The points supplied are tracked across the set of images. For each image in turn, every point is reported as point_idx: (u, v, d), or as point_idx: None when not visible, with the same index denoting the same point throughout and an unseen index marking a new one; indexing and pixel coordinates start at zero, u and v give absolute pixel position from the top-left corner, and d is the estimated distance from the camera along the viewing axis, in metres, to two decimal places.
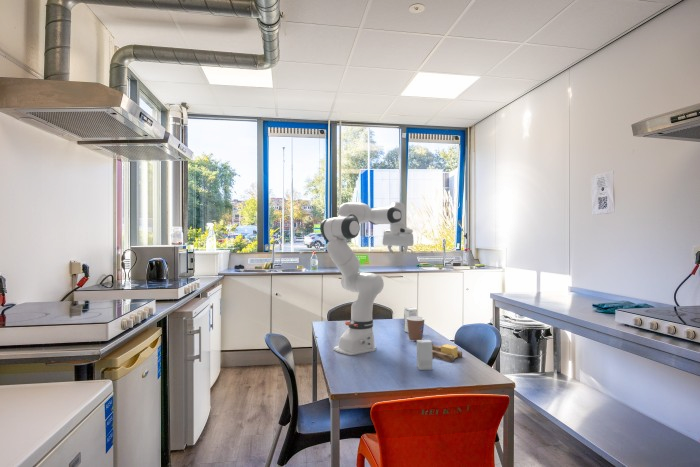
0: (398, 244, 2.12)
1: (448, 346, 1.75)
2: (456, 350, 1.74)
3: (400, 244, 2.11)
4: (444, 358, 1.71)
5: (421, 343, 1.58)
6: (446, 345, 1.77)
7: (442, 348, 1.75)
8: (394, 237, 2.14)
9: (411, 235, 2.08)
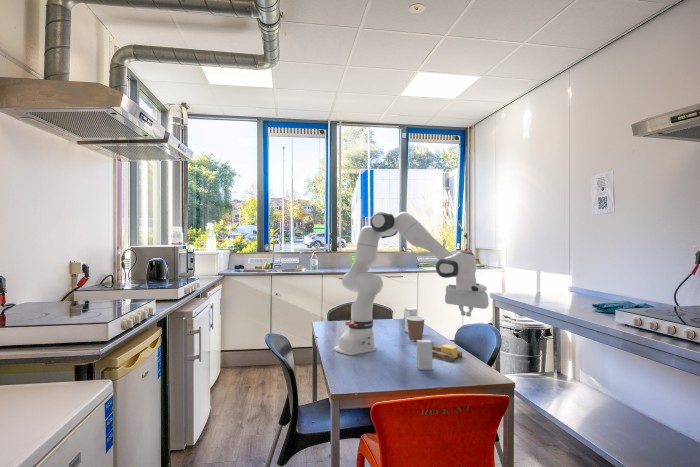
0: (468, 305, 1.67)
1: (448, 346, 1.75)
2: (456, 350, 1.74)
3: (470, 305, 1.66)
4: (444, 358, 1.71)
5: (421, 343, 1.58)
6: (446, 345, 1.77)
7: (442, 348, 1.75)
8: (462, 295, 1.70)
9: (486, 295, 1.64)
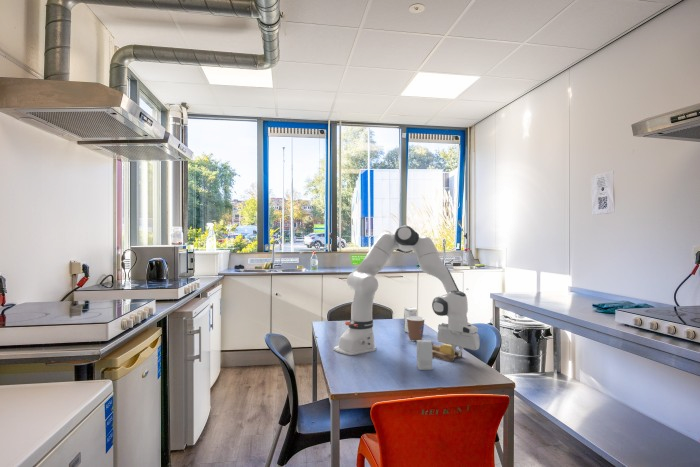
0: (459, 345, 1.70)
1: (447, 346, 1.76)
2: None
3: (462, 346, 1.69)
4: (444, 358, 1.71)
5: (421, 343, 1.58)
6: (445, 345, 1.78)
7: (441, 348, 1.76)
8: (453, 335, 1.72)
9: (477, 336, 1.66)
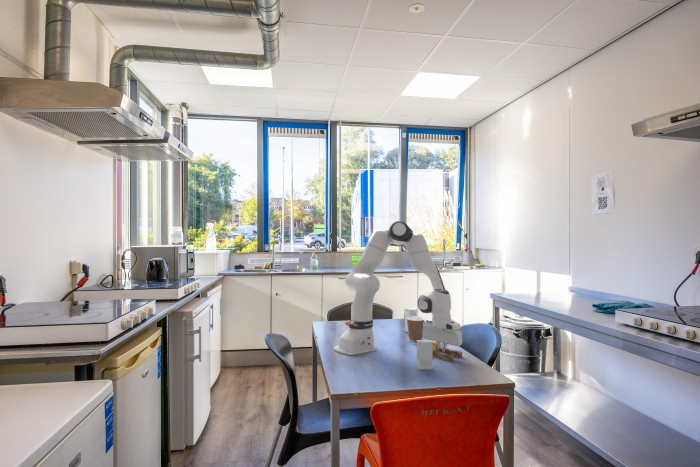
0: (443, 341, 1.75)
1: None
2: None
3: (445, 342, 1.75)
4: (444, 358, 1.71)
5: (421, 343, 1.58)
6: None
7: None
8: (437, 332, 1.78)
9: (459, 332, 1.72)
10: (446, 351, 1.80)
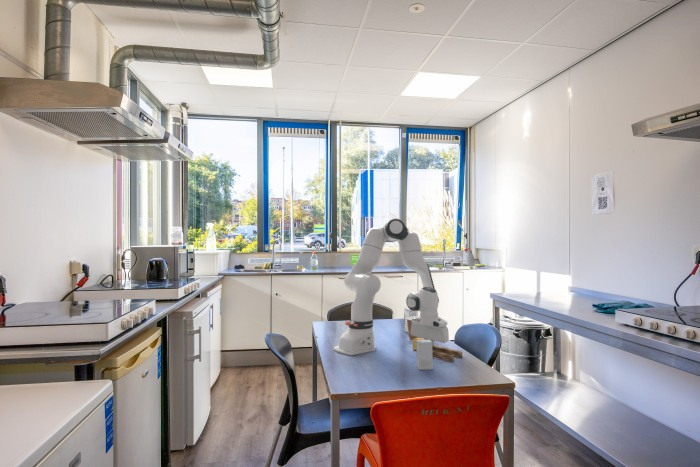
0: (430, 338, 1.81)
1: (419, 339, 1.87)
2: None
3: (432, 339, 1.80)
4: (444, 358, 1.71)
5: (421, 343, 1.58)
6: (417, 338, 1.88)
7: (413, 341, 1.87)
8: (425, 329, 1.83)
9: (446, 329, 1.77)
10: (446, 351, 1.80)
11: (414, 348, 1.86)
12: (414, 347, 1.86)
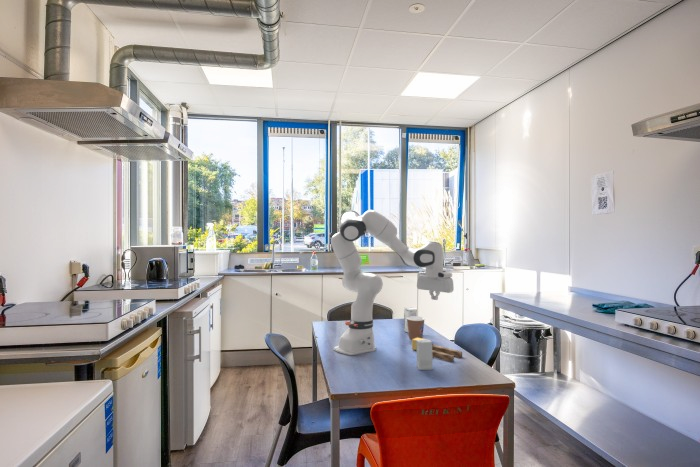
0: (436, 289, 1.87)
1: (419, 339, 1.87)
2: None
3: (438, 290, 1.86)
4: (444, 358, 1.71)
5: (421, 343, 1.58)
6: (417, 338, 1.89)
7: (413, 341, 1.87)
8: (431, 281, 1.89)
9: (451, 280, 1.83)
10: (446, 351, 1.80)
11: (414, 348, 1.86)
12: (414, 347, 1.86)
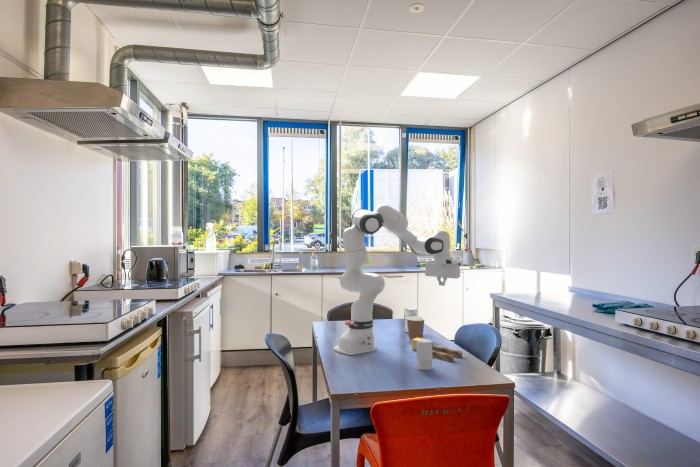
0: (443, 276, 1.99)
1: (419, 339, 1.87)
2: None
3: (445, 276, 1.98)
4: (444, 358, 1.71)
5: (421, 343, 1.58)
6: (417, 338, 1.89)
7: (413, 341, 1.87)
8: (438, 268, 2.02)
9: (458, 267, 1.96)
10: (446, 351, 1.80)
11: (414, 348, 1.86)
12: (414, 347, 1.86)
